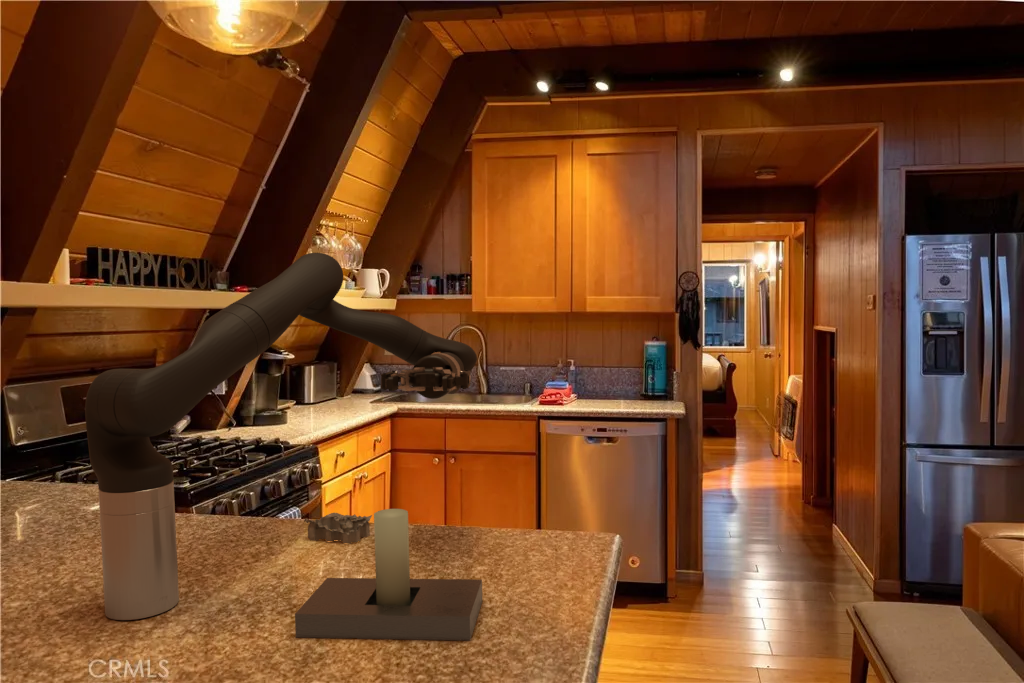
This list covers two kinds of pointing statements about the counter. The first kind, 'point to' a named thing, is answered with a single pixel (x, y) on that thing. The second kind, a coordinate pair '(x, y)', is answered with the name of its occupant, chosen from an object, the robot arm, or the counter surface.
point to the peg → (392, 557)
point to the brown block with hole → (391, 611)
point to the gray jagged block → (339, 528)
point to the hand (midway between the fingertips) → (417, 384)
